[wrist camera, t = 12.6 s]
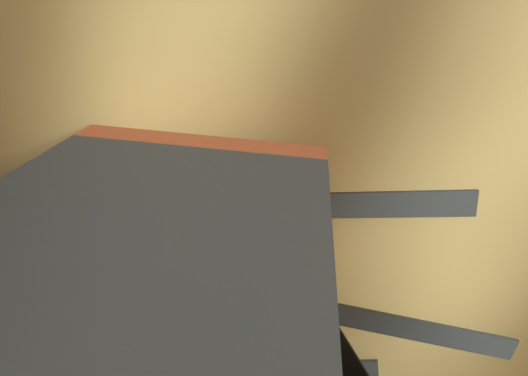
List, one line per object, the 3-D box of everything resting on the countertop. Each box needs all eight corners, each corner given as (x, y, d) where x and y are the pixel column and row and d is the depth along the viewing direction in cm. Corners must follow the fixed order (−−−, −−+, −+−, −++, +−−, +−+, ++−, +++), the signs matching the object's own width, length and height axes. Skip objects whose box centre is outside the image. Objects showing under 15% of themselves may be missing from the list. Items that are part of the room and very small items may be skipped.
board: (785, -34, 7) (880, -40, 6) (528, 488, 12) (550, 540, 11) (-45, -79, 8) (-108, -91, 7) (52, 412, 13) (26, 452, 12)
